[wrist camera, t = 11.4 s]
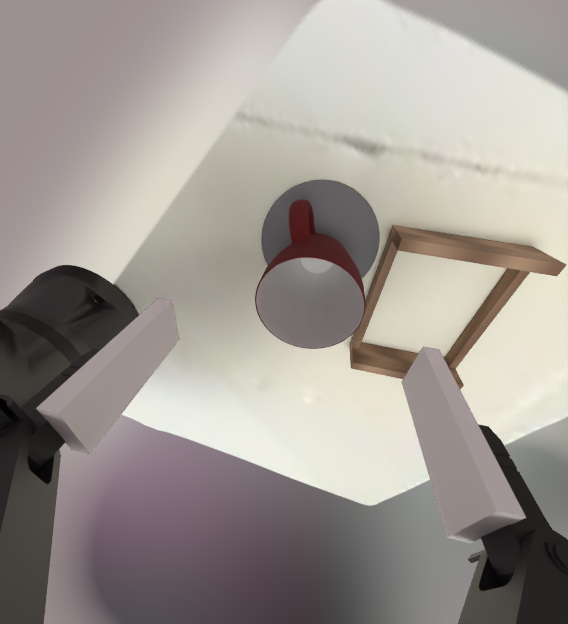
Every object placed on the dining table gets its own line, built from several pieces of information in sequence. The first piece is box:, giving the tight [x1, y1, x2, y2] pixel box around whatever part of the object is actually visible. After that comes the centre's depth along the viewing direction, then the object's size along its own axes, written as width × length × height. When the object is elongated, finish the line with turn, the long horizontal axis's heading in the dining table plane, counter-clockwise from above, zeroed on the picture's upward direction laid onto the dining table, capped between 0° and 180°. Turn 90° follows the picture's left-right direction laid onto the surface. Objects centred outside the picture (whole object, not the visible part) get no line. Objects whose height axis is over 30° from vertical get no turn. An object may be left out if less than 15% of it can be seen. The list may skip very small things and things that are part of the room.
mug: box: [255, 199, 365, 349], centre depth 21 cm, size 11×8×10 cm
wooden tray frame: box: [350, 225, 566, 389], centre depth 26 cm, size 13×16×4 cm
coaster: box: [262, 180, 379, 278], centre depth 25 cm, size 12×12×1 cm
